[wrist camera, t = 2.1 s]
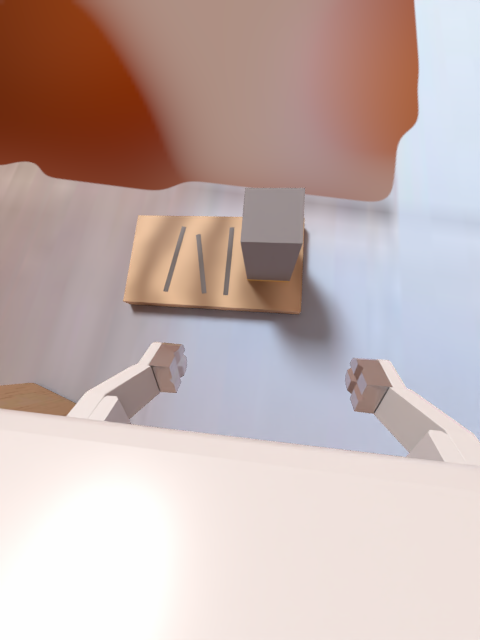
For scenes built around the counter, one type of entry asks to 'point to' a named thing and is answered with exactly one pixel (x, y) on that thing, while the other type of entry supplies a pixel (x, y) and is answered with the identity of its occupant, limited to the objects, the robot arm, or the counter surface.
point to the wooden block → (33, 399)
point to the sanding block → (272, 232)
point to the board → (202, 268)
